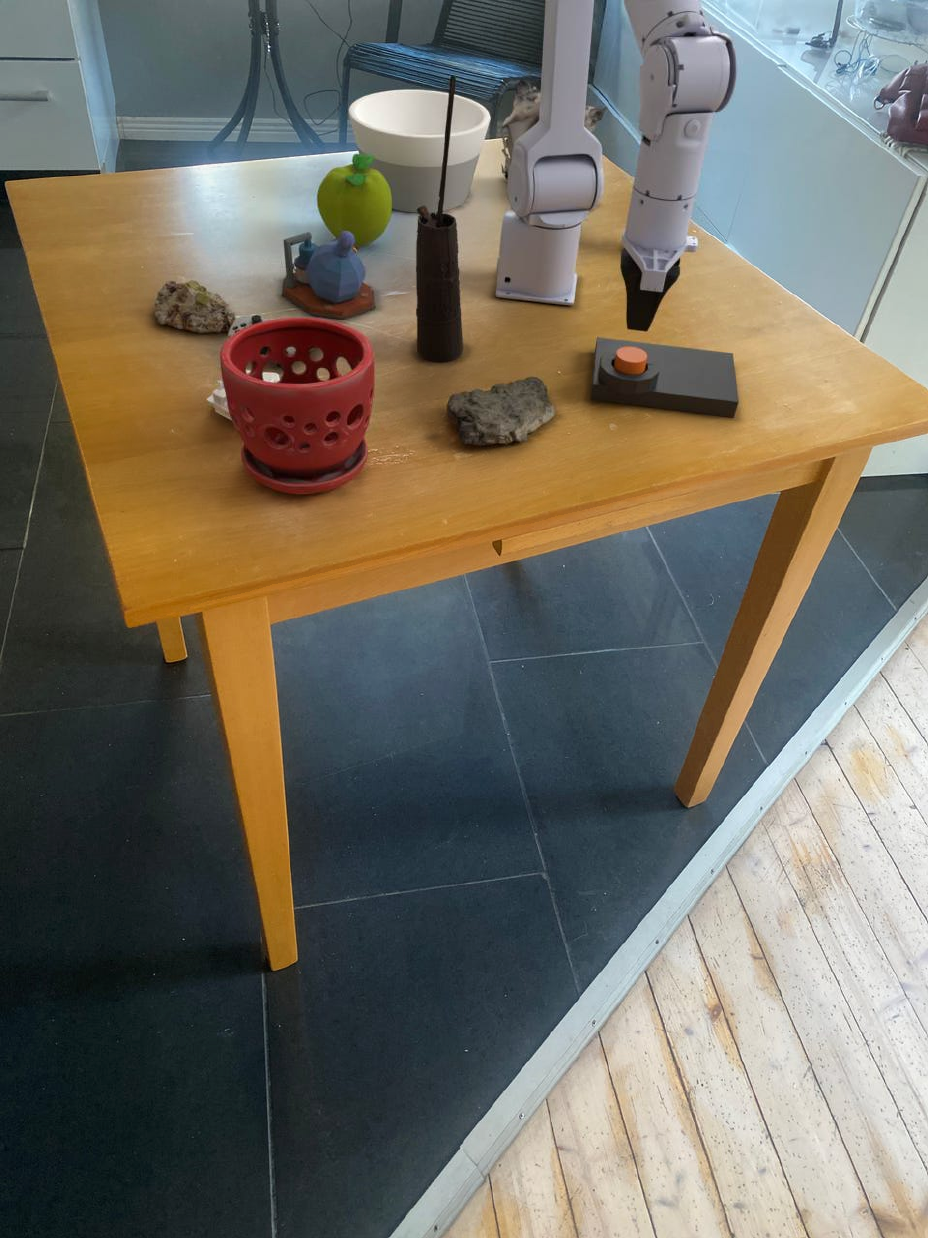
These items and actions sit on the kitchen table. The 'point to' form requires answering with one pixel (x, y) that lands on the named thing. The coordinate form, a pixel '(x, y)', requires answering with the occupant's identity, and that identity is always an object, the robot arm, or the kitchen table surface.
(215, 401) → the toy car
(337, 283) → the model
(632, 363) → the button
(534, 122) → the jagged grey brown piece
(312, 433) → the plant pot
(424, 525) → the kitchen table surface
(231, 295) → the kitchen table surface
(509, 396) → the stone
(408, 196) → the bowl
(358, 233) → the fruit
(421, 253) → the butter churn
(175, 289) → the mineral rock
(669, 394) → the grey push button box
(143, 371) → the kitchen table surface
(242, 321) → the game controller
